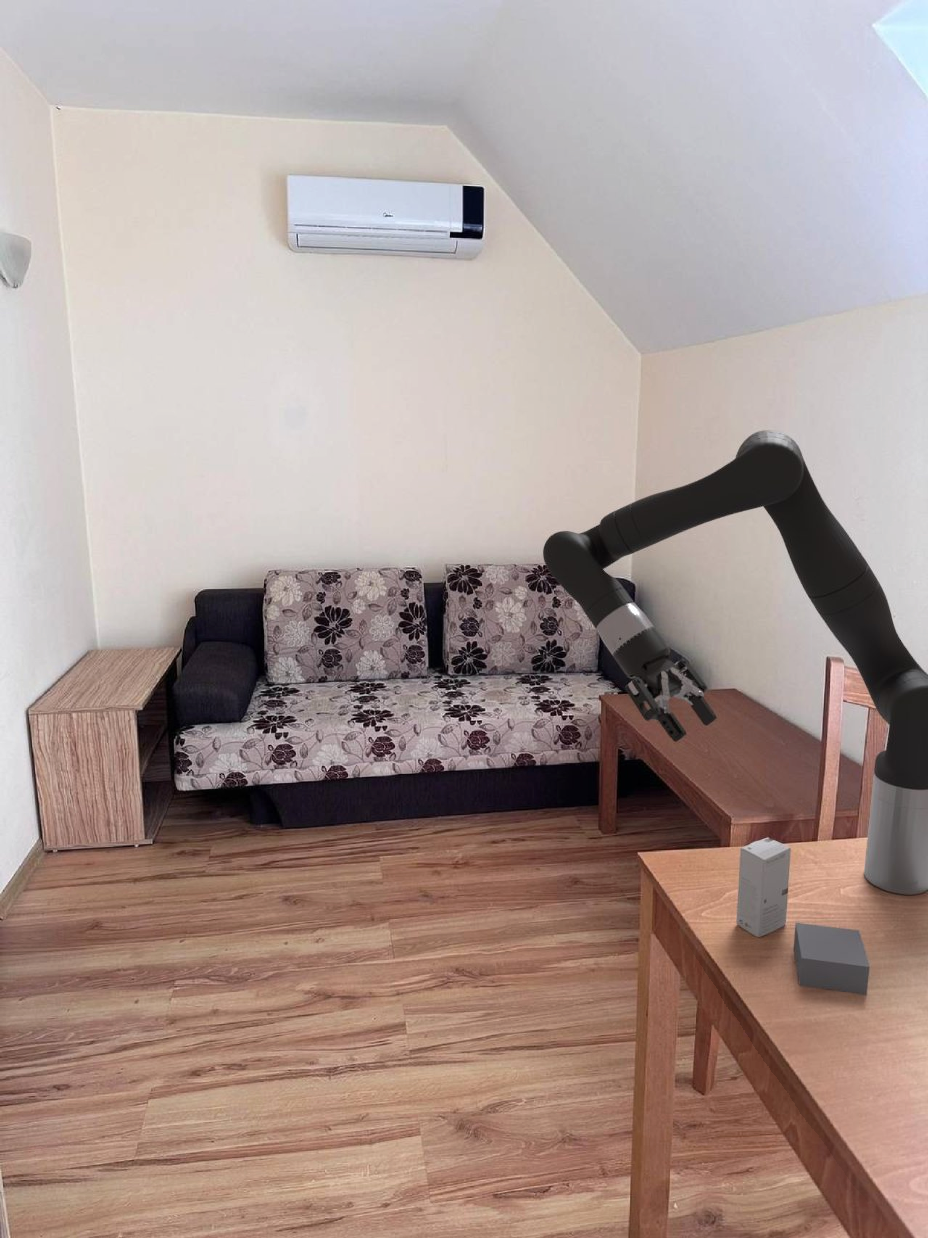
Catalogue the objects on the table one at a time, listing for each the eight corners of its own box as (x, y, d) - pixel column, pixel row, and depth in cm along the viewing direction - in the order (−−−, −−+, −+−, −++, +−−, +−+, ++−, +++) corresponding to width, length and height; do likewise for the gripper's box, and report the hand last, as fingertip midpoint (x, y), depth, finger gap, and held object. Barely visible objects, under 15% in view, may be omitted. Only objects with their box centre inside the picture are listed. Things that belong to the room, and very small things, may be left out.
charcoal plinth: (793, 948, 121) (795, 922, 120) (856, 956, 119) (859, 930, 118) (799, 985, 114) (801, 958, 113) (866, 994, 112) (869, 967, 111)
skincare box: (759, 939, 123) (765, 861, 120) (733, 924, 127) (738, 847, 124) (787, 924, 126) (793, 847, 124) (762, 910, 130) (767, 835, 127)
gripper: (620, 635, 125) (688, 731, 120) (673, 616, 135) (738, 704, 130) (589, 664, 130) (653, 757, 125) (643, 643, 140) (704, 729, 135)
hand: (696, 730), depth 128 cm, fingers open, 8 cm apart
